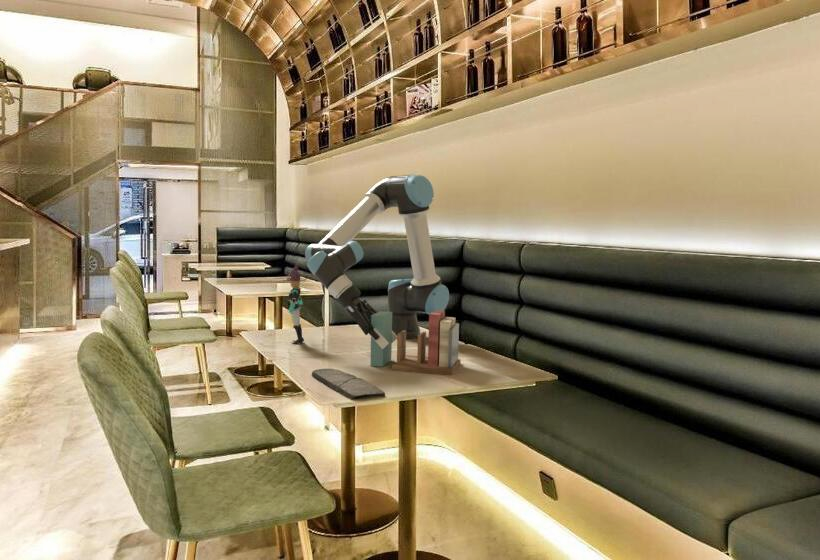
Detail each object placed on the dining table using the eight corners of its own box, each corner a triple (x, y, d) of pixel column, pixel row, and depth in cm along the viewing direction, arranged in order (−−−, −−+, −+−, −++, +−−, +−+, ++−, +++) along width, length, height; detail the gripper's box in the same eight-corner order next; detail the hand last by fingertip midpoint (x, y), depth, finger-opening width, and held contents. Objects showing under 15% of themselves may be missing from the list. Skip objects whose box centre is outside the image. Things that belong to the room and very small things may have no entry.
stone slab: (340, 365, 184) (388, 385, 158) (340, 376, 184) (388, 397, 159) (308, 369, 179) (351, 390, 153) (308, 380, 179) (351, 403, 153)
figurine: (286, 338, 238) (286, 260, 235) (309, 338, 238) (310, 261, 235) (276, 348, 218) (277, 263, 215) (302, 348, 218) (303, 264, 215)
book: (379, 359, 203) (380, 311, 201) (391, 360, 202) (392, 311, 200) (370, 365, 193) (371, 315, 192) (382, 366, 192) (383, 316, 191)
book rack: (405, 359, 204) (406, 307, 202) (460, 363, 199) (462, 310, 198) (392, 370, 188) (393, 313, 187) (451, 374, 184) (453, 317, 182)
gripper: (348, 296, 210) (392, 344, 208) (323, 303, 188) (371, 357, 186) (363, 281, 209) (407, 329, 206) (340, 287, 187) (388, 341, 184)
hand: (390, 343), depth 196 cm, fingers closed on book, 10 cm apart
